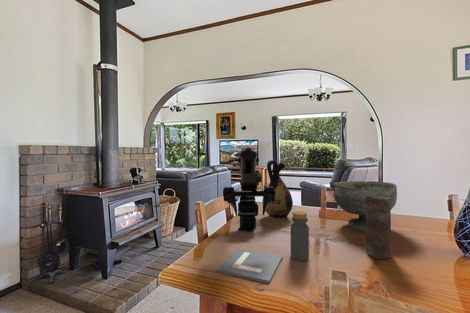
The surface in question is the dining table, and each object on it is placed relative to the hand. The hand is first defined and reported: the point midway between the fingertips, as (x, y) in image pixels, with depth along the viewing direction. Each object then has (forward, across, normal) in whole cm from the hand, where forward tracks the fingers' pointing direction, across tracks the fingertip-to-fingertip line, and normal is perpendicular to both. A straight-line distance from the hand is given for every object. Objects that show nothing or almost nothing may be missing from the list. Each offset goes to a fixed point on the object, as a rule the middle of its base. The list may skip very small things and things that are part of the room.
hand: (250, 214), depth 82 cm
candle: (+10, +43, +9) cm, 45 cm away
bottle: (+12, +16, +8) cm, 21 cm away
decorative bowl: (-10, +53, +30) cm, 62 cm away
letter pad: (+15, 0, +4) cm, 16 cm away
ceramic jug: (-20, +16, +40) cm, 47 cm away
